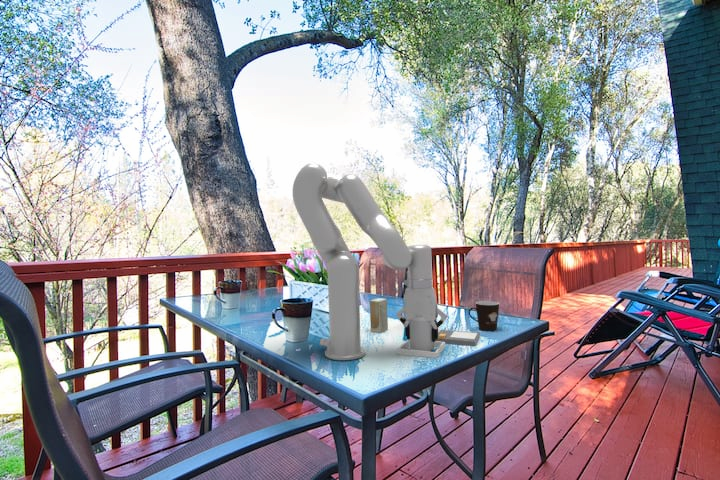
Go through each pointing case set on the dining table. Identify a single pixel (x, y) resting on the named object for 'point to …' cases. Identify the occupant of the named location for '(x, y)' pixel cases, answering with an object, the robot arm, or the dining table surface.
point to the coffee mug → (486, 315)
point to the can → (420, 334)
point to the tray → (421, 353)
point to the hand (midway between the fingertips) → (421, 339)
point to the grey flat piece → (458, 337)
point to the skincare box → (378, 315)
